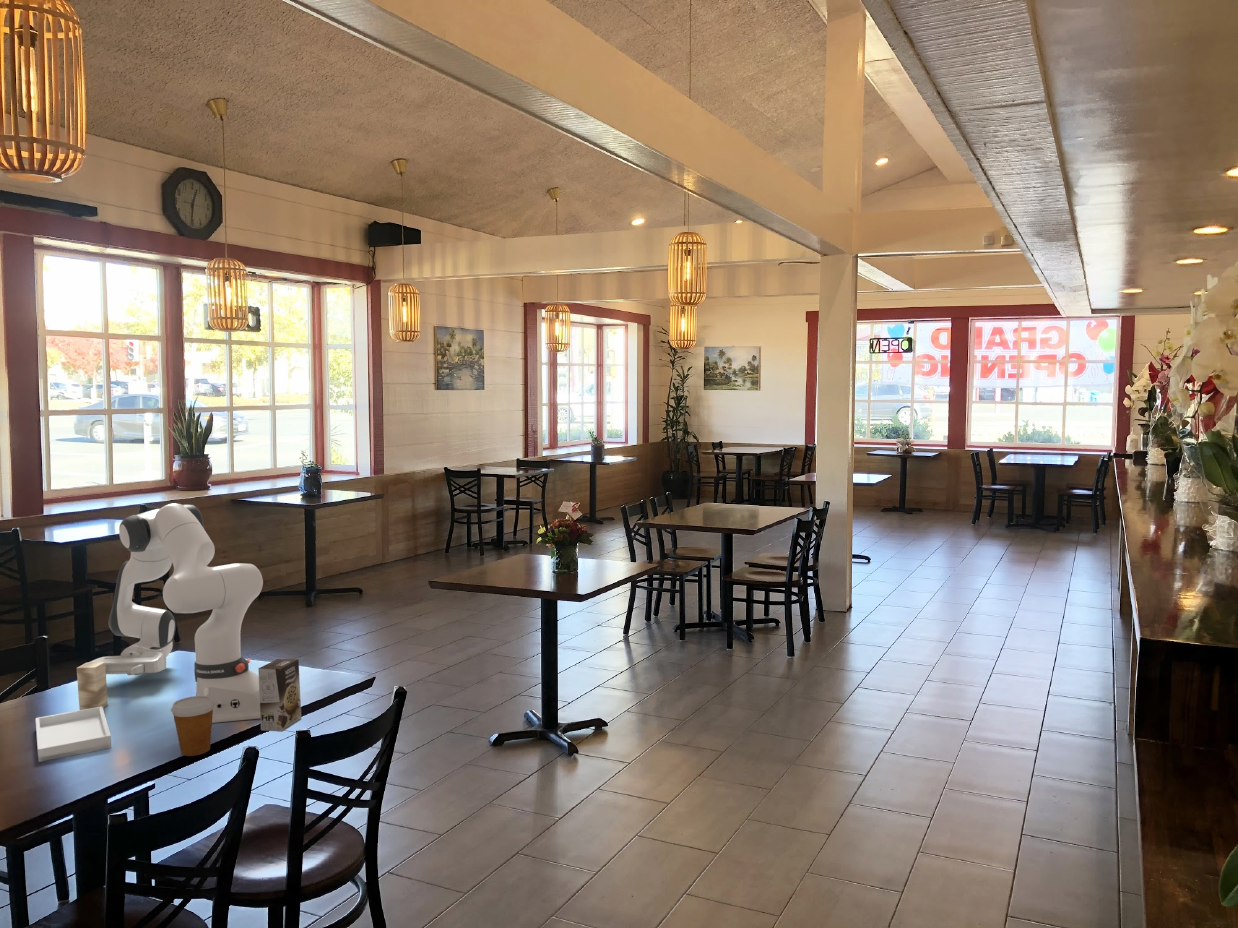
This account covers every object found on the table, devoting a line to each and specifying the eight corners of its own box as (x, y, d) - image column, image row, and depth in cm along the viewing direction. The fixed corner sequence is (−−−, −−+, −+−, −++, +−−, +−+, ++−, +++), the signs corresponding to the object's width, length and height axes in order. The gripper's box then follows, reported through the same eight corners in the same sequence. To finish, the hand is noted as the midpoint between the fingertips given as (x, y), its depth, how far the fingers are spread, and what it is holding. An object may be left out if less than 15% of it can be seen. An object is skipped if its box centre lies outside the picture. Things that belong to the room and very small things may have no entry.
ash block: (107, 704, 260) (105, 661, 259) (98, 710, 255) (95, 667, 254) (89, 705, 259) (86, 662, 258) (79, 711, 254) (76, 667, 253)
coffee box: (283, 732, 235) (280, 668, 234) (260, 730, 236) (256, 667, 235) (302, 719, 244) (299, 658, 243) (280, 718, 245) (277, 657, 244)
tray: (111, 747, 227) (110, 735, 227) (38, 761, 219) (37, 749, 219) (102, 717, 249) (102, 706, 249) (36, 729, 241) (35, 717, 241)
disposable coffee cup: (206, 758, 219) (203, 708, 218) (166, 759, 219) (162, 708, 218) (224, 742, 229) (221, 694, 228) (185, 743, 229) (182, 695, 228)
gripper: (101, 649, 280) (75, 663, 267) (170, 647, 281) (148, 661, 267) (102, 670, 281) (76, 685, 267) (171, 668, 281) (149, 682, 267)
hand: (113, 673), depth 267 cm, fingers open, 8 cm apart
